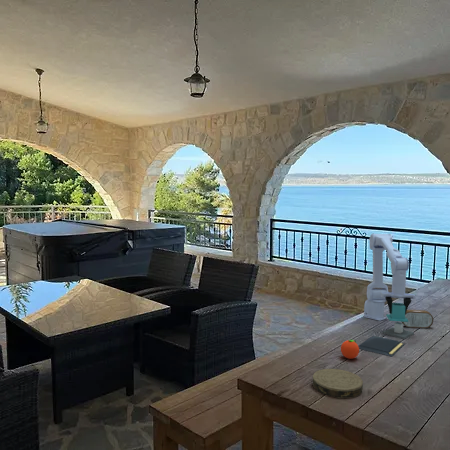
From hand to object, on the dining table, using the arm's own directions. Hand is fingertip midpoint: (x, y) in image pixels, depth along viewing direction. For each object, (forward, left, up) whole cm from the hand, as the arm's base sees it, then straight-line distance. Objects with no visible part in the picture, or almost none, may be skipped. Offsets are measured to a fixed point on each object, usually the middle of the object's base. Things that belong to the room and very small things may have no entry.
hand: (397, 313), depth 194 cm
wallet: (+3, -21, -10) cm, 24 cm away
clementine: (+1, -43, -10) cm, 44 cm away
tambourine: (+11, -69, -10) cm, 70 cm away
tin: (+2, +17, -10) cm, 20 cm away
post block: (+1, 0, -10) cm, 10 cm away
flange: (0, 0, -2) cm, 2 cm away
